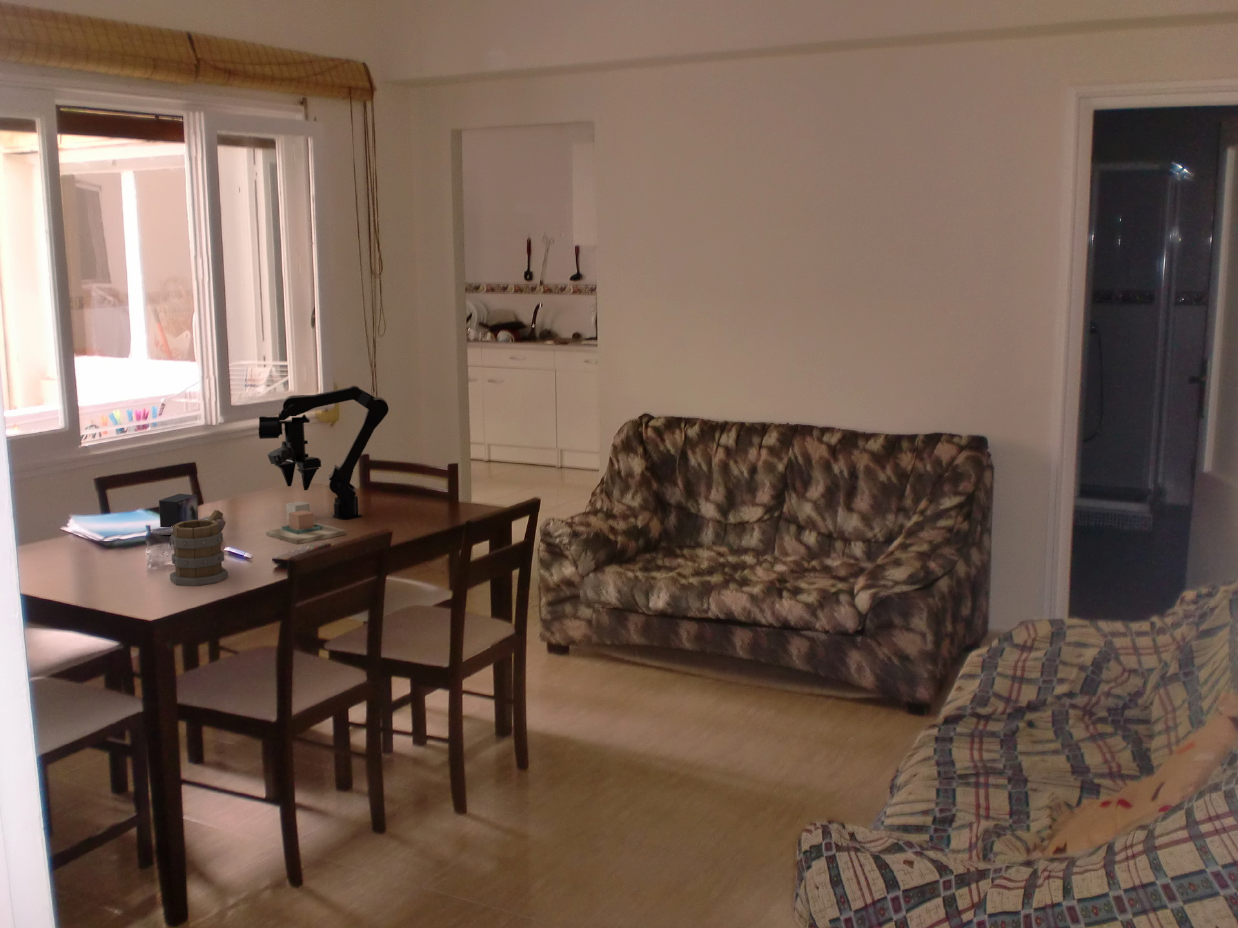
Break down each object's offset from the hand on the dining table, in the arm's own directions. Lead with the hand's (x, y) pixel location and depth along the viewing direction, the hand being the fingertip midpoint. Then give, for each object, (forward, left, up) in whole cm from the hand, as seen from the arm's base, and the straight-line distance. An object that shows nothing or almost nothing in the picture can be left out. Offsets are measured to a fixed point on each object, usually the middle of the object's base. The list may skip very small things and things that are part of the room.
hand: (297, 488), depth 351 cm
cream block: (0, 0, -10) cm, 10 cm away
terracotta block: (+10, +18, -8) cm, 22 cm away
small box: (+33, -10, -10) cm, 36 cm away
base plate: (+10, +20, -10) cm, 24 cm away
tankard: (+51, +40, -10) cm, 66 cm away
